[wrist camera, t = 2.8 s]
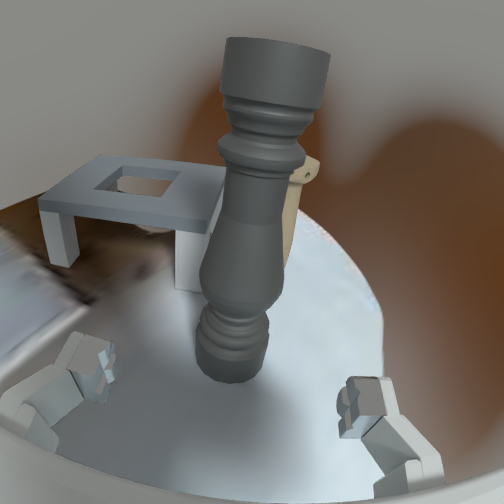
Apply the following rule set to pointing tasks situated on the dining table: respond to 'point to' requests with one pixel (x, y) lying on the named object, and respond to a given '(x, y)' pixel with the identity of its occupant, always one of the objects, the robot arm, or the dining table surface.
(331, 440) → the dining table surface
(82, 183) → the hole stand
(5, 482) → the robot arm
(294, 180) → the handle
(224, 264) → the candle holder
